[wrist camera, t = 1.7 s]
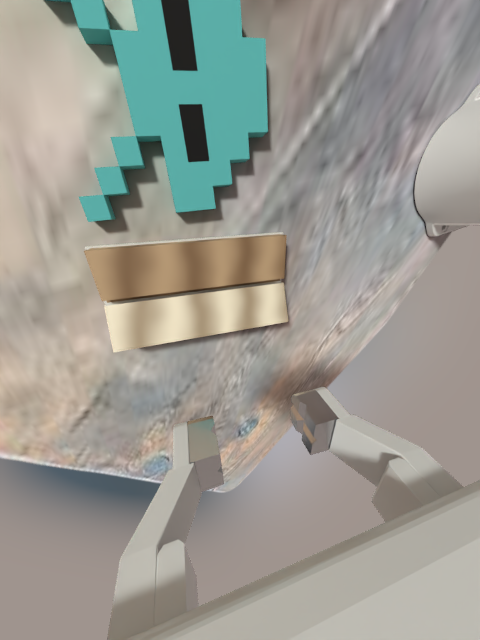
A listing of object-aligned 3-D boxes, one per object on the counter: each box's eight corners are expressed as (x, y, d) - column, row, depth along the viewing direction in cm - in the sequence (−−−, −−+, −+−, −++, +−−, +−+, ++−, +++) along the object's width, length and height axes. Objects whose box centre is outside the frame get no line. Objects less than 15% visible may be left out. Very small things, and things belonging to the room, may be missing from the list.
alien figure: (95, 221, 24) (263, 203, 28) (88, 221, 22) (269, 202, 26) (-25, -100, 15) (252, -58, 18) (-55, -148, 13) (261, -90, 17)
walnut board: (279, 234, 29) (286, 235, 27) (278, 279, 32) (283, 283, 30) (90, 248, 24) (83, 251, 22) (108, 300, 27) (104, 306, 25)
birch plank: (277, 284, 32) (283, 282, 30) (282, 320, 33) (288, 321, 31) (110, 306, 27) (104, 306, 25) (118, 349, 27) (113, 352, 26)
